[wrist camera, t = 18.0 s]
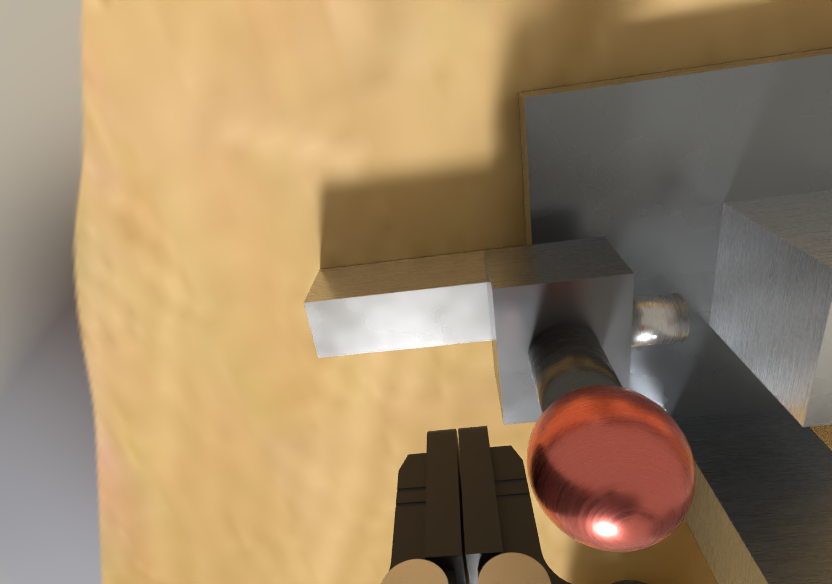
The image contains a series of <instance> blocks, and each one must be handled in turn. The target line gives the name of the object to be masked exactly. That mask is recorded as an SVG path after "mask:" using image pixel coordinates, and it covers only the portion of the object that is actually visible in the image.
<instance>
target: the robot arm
mask: <svg viewBox="0 0 832 584" xmlns="http://www.w3.org/2000/svg"><path fill="white" fill-rule="evenodd" d="M458 433H459V444H458V437H457V431H456V429H449V430H438V431H428V432H427V453H421V454H409V455H408V456H407V458H406V459H405V461H404V463H403V464H402V466H401V468H400V470H399V473H398V485H397V497H396V510H395V522H394V534H393V546H392V558H391V566H390V569H389V572H388V573H387V574H386V576H385V577H384V579H383V581H382V583H381V584H571V583H568V582H566V581H565V580H563V579H561V578H560V577H559V576H557V575H556V574H555V573H554V572H553V571H552V570H551V569H550V568H549V566H548V565H547V563H546V562H545V560H544V558H543V555H542V552H541V547H540V542H539V538H538V533H537V528H536V523H535V518H534V513H533V508H532V503H531V498H530V494H529V488H528V483H527V479H526V474H525V469H524V464H523V460H522V459H521V457H520V456H519V455H518V454H517V452H516V451H515V450H514V449H513V447H512V446H500V447H490V445H489V437H488V430H487V426H481V427H470V428H459V429H458ZM613 584H646V583H643V582H639V581H634V580H624V581H618V582H615V583H613Z"/></svg>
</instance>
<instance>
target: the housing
mask: <svg viewBox="0 0 832 584" xmlns="http://www.w3.org/2000/svg"><path fill="white" fill-rule="evenodd" d="M709 325H710V327H711V328H712V329H713V330H714V331H715V332H716V333H717V334H718V335H719V336H720V337H721V339H722V340H723V341H724V342H725V343H726V344H727V345H728V346H729V347H730V348H731V349H732V350H733V352H734V353H735V354H736V355H737V356H738V357H739V358H740V359H741V360H742V361H743V362H744V364H745V365H746V366H747V367H748V368H749V369H750V370H751V371H752V372H753V373H754V374H755V375H756V377H757V378H758V379H759V380H760V381H761V382H762V383H763V384H764V385H765V386H766V387H767V389H768V390H769V391H770V392H771V393H772V394H773V395H774V396H775V397H776V398H777V399H778V400H779V402H780V403H781V404H782V405H783V406H784V407H785V408H786V409H787V410H788V411H789V412H790V414H791V415H792V416H793V417H794V418H795V419H796V420H797V421H798V422H799V423H800V424H801V425H802V427H811V426H823V425H832V190H827V191H818V192H810V193H801V194H793V195H785V196H776V197H768V198H759V199H751V200H743V201H734V202H726V203H723V211H722V219H721V228H720V236H719V245H718V254H717V262H716V271H715V279H714V288H713V297H712V305H711V314H710V322H709Z"/></svg>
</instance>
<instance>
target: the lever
mask: <svg viewBox="0 0 832 584" xmlns="http://www.w3.org/2000/svg"><path fill="white" fill-rule="evenodd" d="M484 259H485V270H486V281H487V292H488V303H489V314H490V325H491V336H492V347H493V357H494V368H495V376H496V382H497V388H498V393H499V399H500V405H501V411H502V417H503V422H504V424H516V423H527V422H537V423H536V425H535V427H534V428H533V431H532V434H531V436H530V440H529V444H528V450H527V468H528V476H529V480H530V484H531V487H532V490H533V493H534V495H535V497H536V499H537V501H538V503H539V505H540V506H541V508H542V509H543V511H544V512H545V514H546V515H547V516H548V517H549V519H550V520H551V521H552V522H553V523H554V524H555V525H556V526H557V527H558V528H559V529H560V530H561V531H563V532H564V533H566V534H567V535H568V536H570V537H571V538H573V539H574V540H576V541H578V542H580V543H582V544H584V545H587V546H589V547H592V548H595V549H599V550H604V551H610V552H632V551H637V550H641V549H645V548H648V547H650V546H653V545H655V544H657V543H659V542H660V541H662V540H664V539H665V538H666V537H667V536H669V535H670V534H671V533H672V532H673V531H674V530H675V529H676V528H677V527H678V526H679V525H680V524H681V522H682V521H683V519H684V518H685V516H686V514H687V512H688V511H689V508H690V506H691V503H692V500H693V497H694V492H695V483H696V471H695V463H694V458H693V454H692V451H691V448H690V446H689V443H688V441H687V439H686V437H685V435H684V433H683V431H682V430H681V428H680V427H679V425H678V424H677V423H676V421H675V420H674V419H673V418H672V417H671V416H670V414H668V413H667V412H666V411H665V410H664V409H663V408H662V407H661V406H660V405H658V404H657V403H655V402H654V401H652V400H651V399H649V398H648V397H646V396H644V395H642V394H640V393H637V392H635V391H633V390H630V389H629V386H630V362H631V347H635V346H645V345H655V344H665V343H676V342H684V341H686V340H687V338H688V336H689V331H690V318H689V312H688V308H687V305H686V303H685V300H684V299H683V297H682V296H681V295H680V294H679V293H668V294H659V295H649V296H640V297H633V290H634V273H633V271H632V270H631V269H630V268H629V266H628V265H627V264H626V263H625V261H624V260H623V259H622V258H621V256H620V255H619V254H618V253H617V252H616V250H615V249H614V248H613V247H612V245H611V244H610V243H609V242H608V240H607V239H606V238H605V237H604V236H602V237H594V238H585V239H577V240H568V241H560V242H551V243H543V244H534V245H526V246H517V247H509V248H500V249H492V250H484Z"/></svg>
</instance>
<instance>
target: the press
mask: <svg viewBox="0 0 832 584" xmlns="http://www.w3.org/2000/svg"><path fill="white" fill-rule="evenodd" d="M518 95H519V114H520V132H521V151H522V170H523V188H524V207H525V225H526V244H527V245H534V244H543V243H551V242H560V241H568V240H577V239H585V238H594V237H602V236H604V237H605V238H606V239H607V240H608V242H609V243H610V244H611V245H612V247H613V248H614V249H615V250H616V252H617V253H618V254H619V255H620V256H621V258H622V259H623V260H624V261H625V263H626V264H627V265H628V266H629V268H630V269H631V270H632V271H633V273H634V290H633V297H640V296H649V295H659V294H668V293H679V294H680V295H681V296H682V297H683V299H684V300H685V303H686V305H687V308H688V312H689V318H690V331H689V336H688V338H687V340H686V341H684V342H676V343H665V344H655V345H645V346H635V347H631V362H630V386H629V389H630V390H633V391H635V392H637V393H640V394H642V395H644V396H646V397H648V398H649V399H651V400H652V401H654V402H655V403H657V404H658V405H660V406H661V407H662V408H663V409H664V410H665V411H666V412H667V413H668V414H670V416H671V417H672V418H673V419H674V420H675V421H676V423H677V424H678V425H679V427H680V428H681V430H682V431H683V433H684V435H685V437H686V439H687V441H688V443H689V446H690V448H691V451H692V454H693V458H694V463H695V471H696V483H695V492H694V497H693V500H692V503H691V506H690V508H689V511H688V512H687V514H686V516H685V520H686V522H687V524H688V526H689V528H690V530H691V532H692V534H693V536H694V537H695V539H696V541H697V543H698V545H699V547H700V549H701V551H702V553H703V555H704V557H705V559H706V561H707V563H708V565H709V567H710V569H711V571H712V573H713V575H714V577H715V579H716V581H717V583H718V584H832V451H831V450H830V449H829V448H828V447H827V446H826V445H825V444H824V442H823V441H822V440H821V439H820V438H819V437H818V436H817V435H816V434H815V433H814V432H813V431H812V430H811V429H810V427H802V425H801V424H800V423H799V422H798V421H797V420H796V419H795V418H794V417H793V416H792V415H791V414H790V412H789V411H788V410H787V409H786V408H785V407H784V406H783V405H782V404H781V403H780V402H779V400H778V399H777V398H776V397H775V396H774V395H773V394H772V393H771V392H770V391H769V390H768V389H767V387H766V386H765V385H764V384H763V383H762V382H761V381H760V380H759V379H758V378H757V377H756V375H755V374H754V373H753V372H752V371H751V370H750V369H749V368H748V367H747V366H746V365H745V364H744V362H743V361H742V360H741V359H740V358H739V357H738V356H737V355H736V354H735V353H734V352H733V350H732V349H731V348H730V347H729V346H728V345H727V344H726V343H725V342H724V341H723V340H722V339H721V337H720V336H719V335H718V334H717V333H716V332H715V331H714V330H713V329H712V328H711V327H710V325H709V322H710V314H711V305H712V297H713V288H714V279H715V271H716V262H717V254H718V245H719V236H720V228H721V219H722V211H723V203H726V202H734V201H743V200H751V199H759V198H768V197H776V196H785V195H793V194H801V193H810V192H818V191H827V190H832V48H827V49H820V50H813V51H806V52H799V53H792V54H785V55H778V56H771V57H764V58H757V59H750V60H743V61H736V62H729V63H722V64H715V65H708V66H701V67H694V68H687V69H680V70H673V71H667V72H660V73H653V74H646V75H639V76H632V77H625V78H618V79H611V80H604V81H597V82H590V83H583V84H576V85H569V86H562V87H555V88H548V89H541V90H534V91H527V92H520V93H518ZM524 246H526V245H524ZM515 247H517V246H515ZM507 248H509V247H507ZM498 249H500V248H498ZM490 250H492V249H490ZM304 305H305V309H306V313H307V317H308V321H309V324H310V328H311V332H312V336H313V340H314V344H315V347H316V351H317V355H318V358H322V357H332V356H342V355H352V354H361V353H371V352H381V351H391V350H401V349H410V348H420V347H430V346H440V345H449V344H459V343H469V342H479V341H489V340H492V336H491V325H490V314H489V303H488V292H487V281H486V270H485V259H484V250H481V251H473V252H464V253H456V254H447V255H439V256H430V257H422V258H413V259H405V260H396V261H388V262H379V263H371V264H362V265H354V266H345V267H337V268H328V269H320V270H319V272H318V274H317V276H316V279H315V281H314V283H313V285H312V287H311V289H310V291H309V293H308V295H307V297H306V299H305V301H304Z"/></svg>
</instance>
